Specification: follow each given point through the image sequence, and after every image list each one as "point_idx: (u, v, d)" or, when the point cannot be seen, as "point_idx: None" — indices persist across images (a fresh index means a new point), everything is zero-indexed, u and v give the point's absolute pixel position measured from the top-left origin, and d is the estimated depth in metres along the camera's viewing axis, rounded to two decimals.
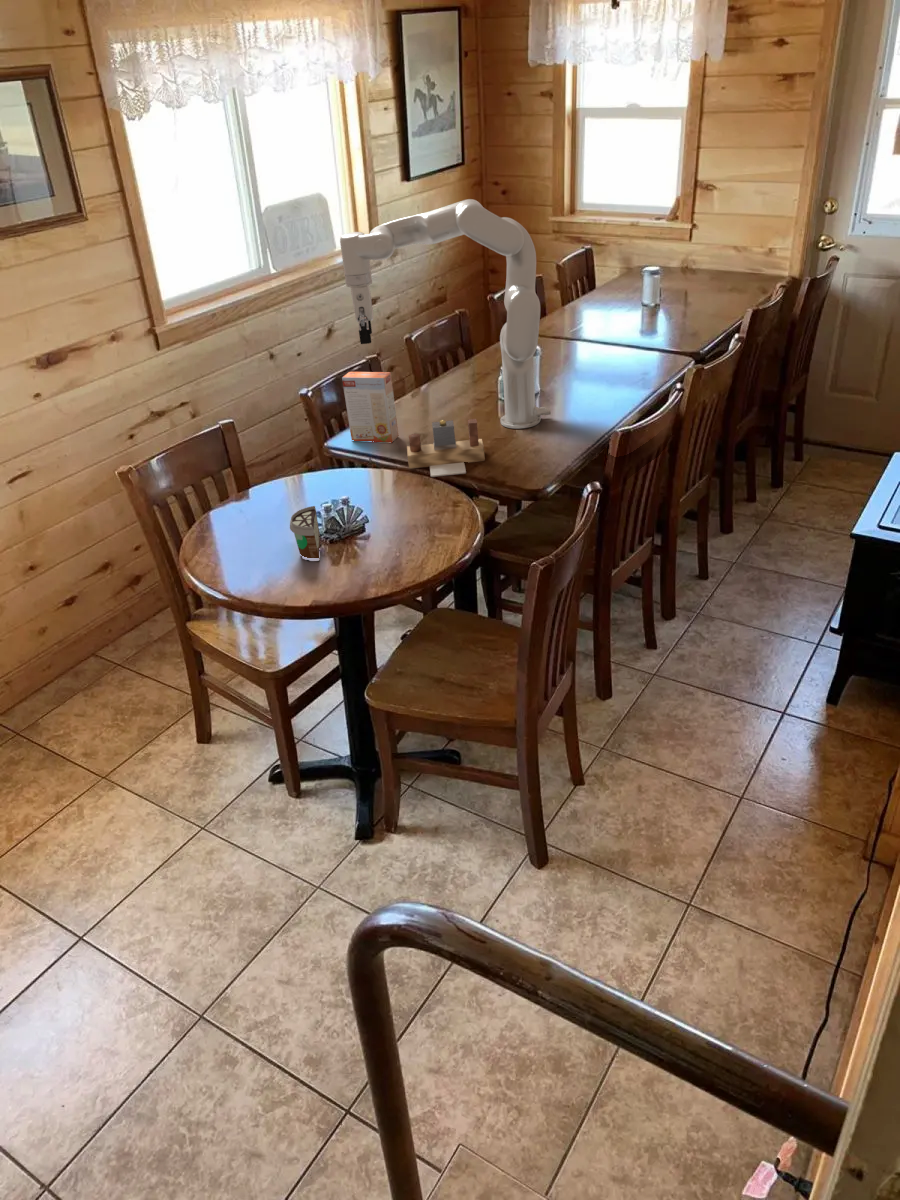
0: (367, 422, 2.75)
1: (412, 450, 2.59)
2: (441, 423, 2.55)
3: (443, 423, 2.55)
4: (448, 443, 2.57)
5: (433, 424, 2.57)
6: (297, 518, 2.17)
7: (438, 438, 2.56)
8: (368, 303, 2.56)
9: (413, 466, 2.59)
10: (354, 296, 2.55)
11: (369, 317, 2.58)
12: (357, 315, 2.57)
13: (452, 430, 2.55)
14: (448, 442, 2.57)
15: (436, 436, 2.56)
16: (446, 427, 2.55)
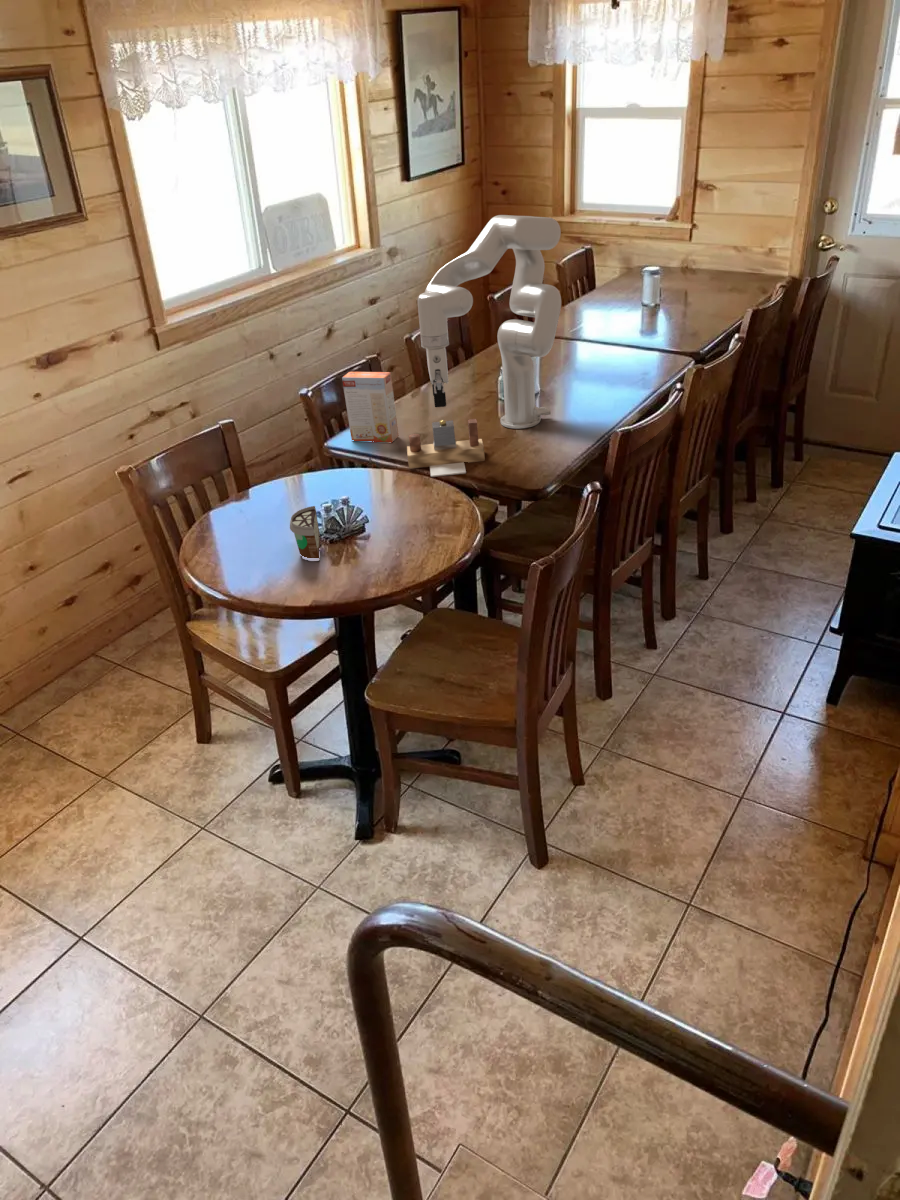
0: (367, 422, 2.75)
1: (412, 450, 2.59)
2: (441, 423, 2.55)
3: (443, 423, 2.55)
4: (448, 443, 2.57)
5: (433, 424, 2.57)
6: (297, 518, 2.17)
7: (438, 438, 2.56)
8: (445, 365, 2.43)
9: (413, 466, 2.59)
10: (430, 358, 2.42)
11: (445, 380, 2.44)
12: (433, 378, 2.44)
13: (452, 430, 2.55)
14: (448, 442, 2.57)
15: (436, 436, 2.56)
16: (446, 427, 2.55)
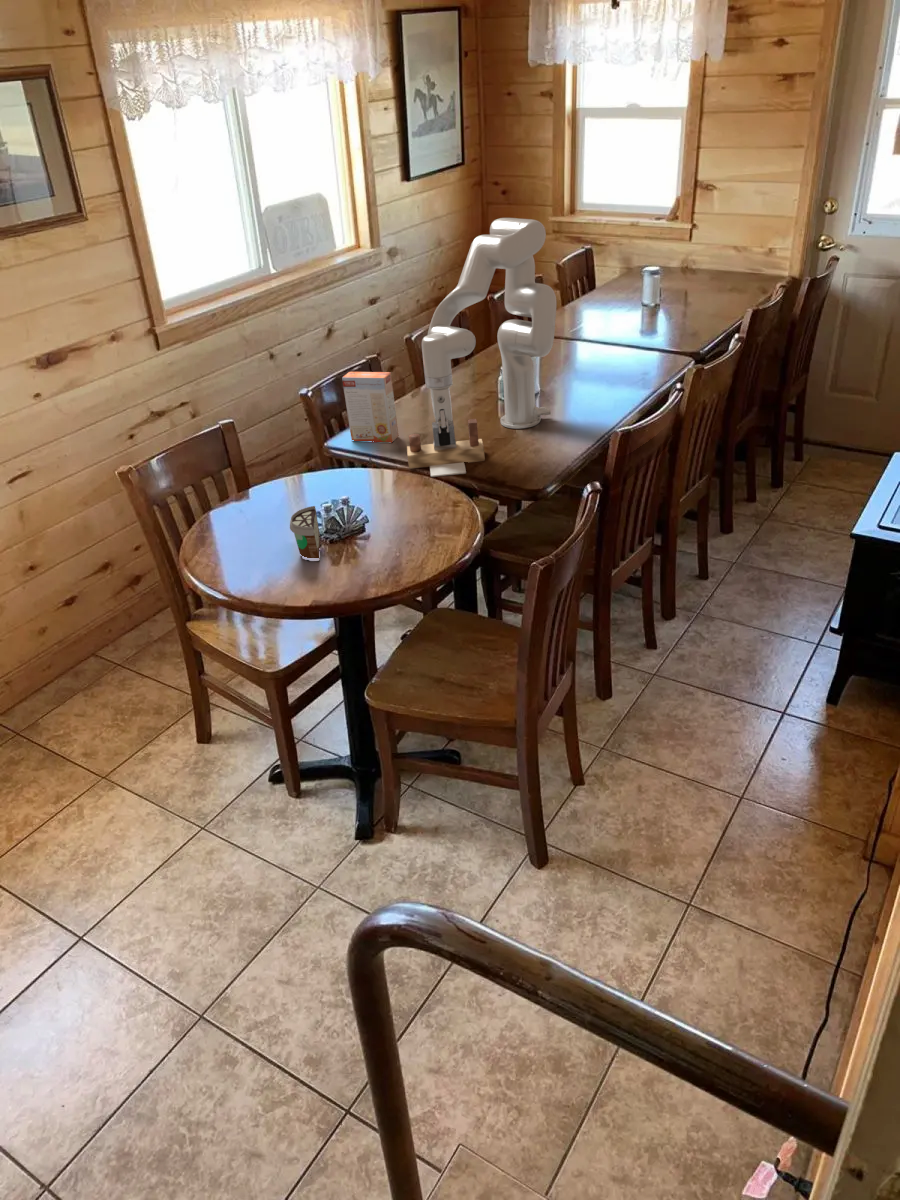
0: (367, 422, 2.75)
1: (412, 450, 2.59)
2: None
3: None
4: None
5: (433, 424, 2.57)
6: (297, 518, 2.17)
7: (438, 438, 2.56)
8: (449, 405, 2.49)
9: (413, 466, 2.59)
10: (435, 398, 2.48)
11: (450, 419, 2.50)
12: (438, 421, 2.51)
13: (452, 430, 2.55)
14: None
15: (436, 436, 2.56)
16: None
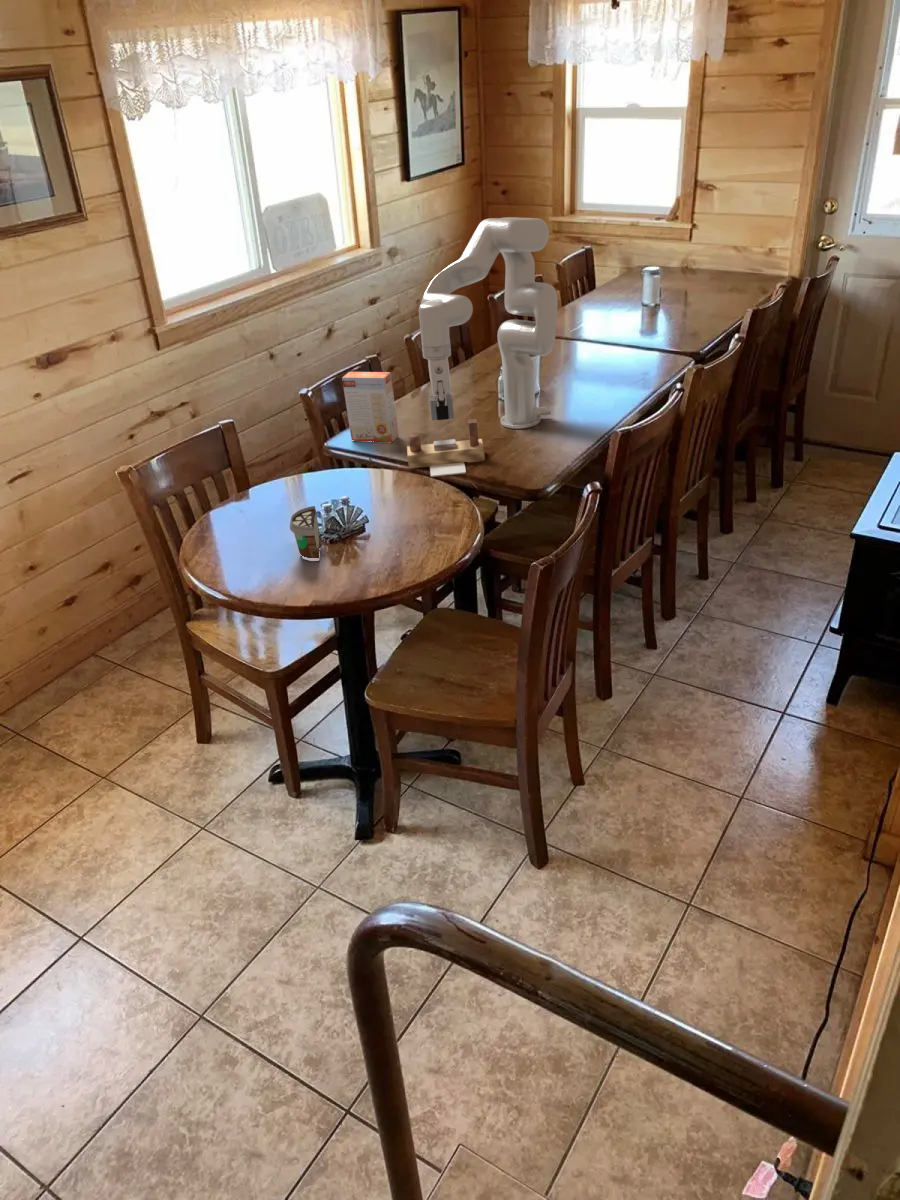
0: (367, 422, 2.75)
1: (412, 450, 2.59)
2: None
3: None
4: None
5: (430, 397, 2.45)
6: (297, 518, 2.17)
7: None
8: (447, 376, 2.37)
9: (413, 466, 2.59)
10: (432, 369, 2.36)
11: (448, 391, 2.38)
12: (435, 393, 2.39)
13: (450, 403, 2.43)
14: None
15: (434, 410, 2.44)
16: None
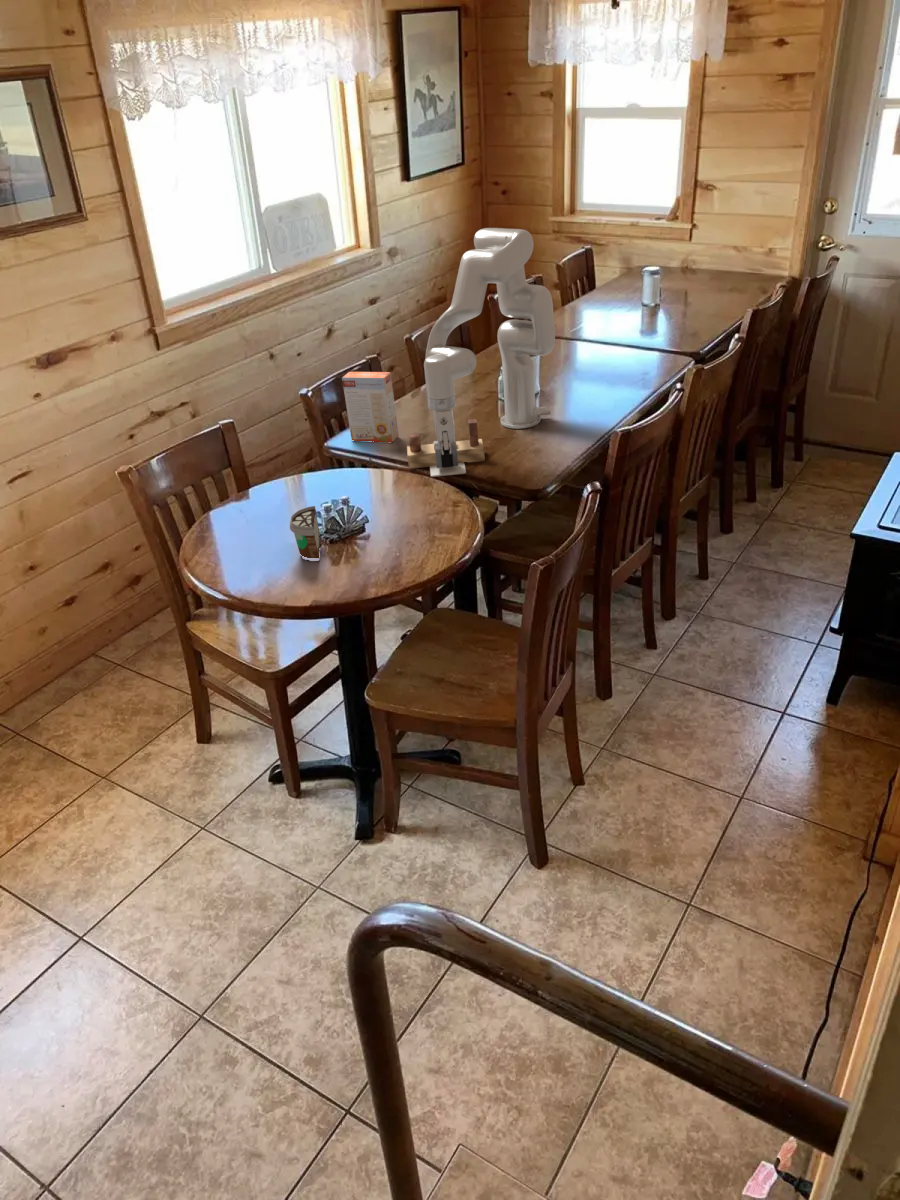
0: (367, 422, 2.75)
1: (412, 450, 2.59)
2: None
3: None
4: None
5: (435, 445, 2.52)
6: (297, 518, 2.17)
7: None
8: (452, 427, 2.44)
9: (413, 466, 2.59)
10: (438, 420, 2.43)
11: (453, 440, 2.46)
12: (440, 442, 2.47)
13: (455, 452, 2.51)
14: None
15: (439, 458, 2.51)
16: None
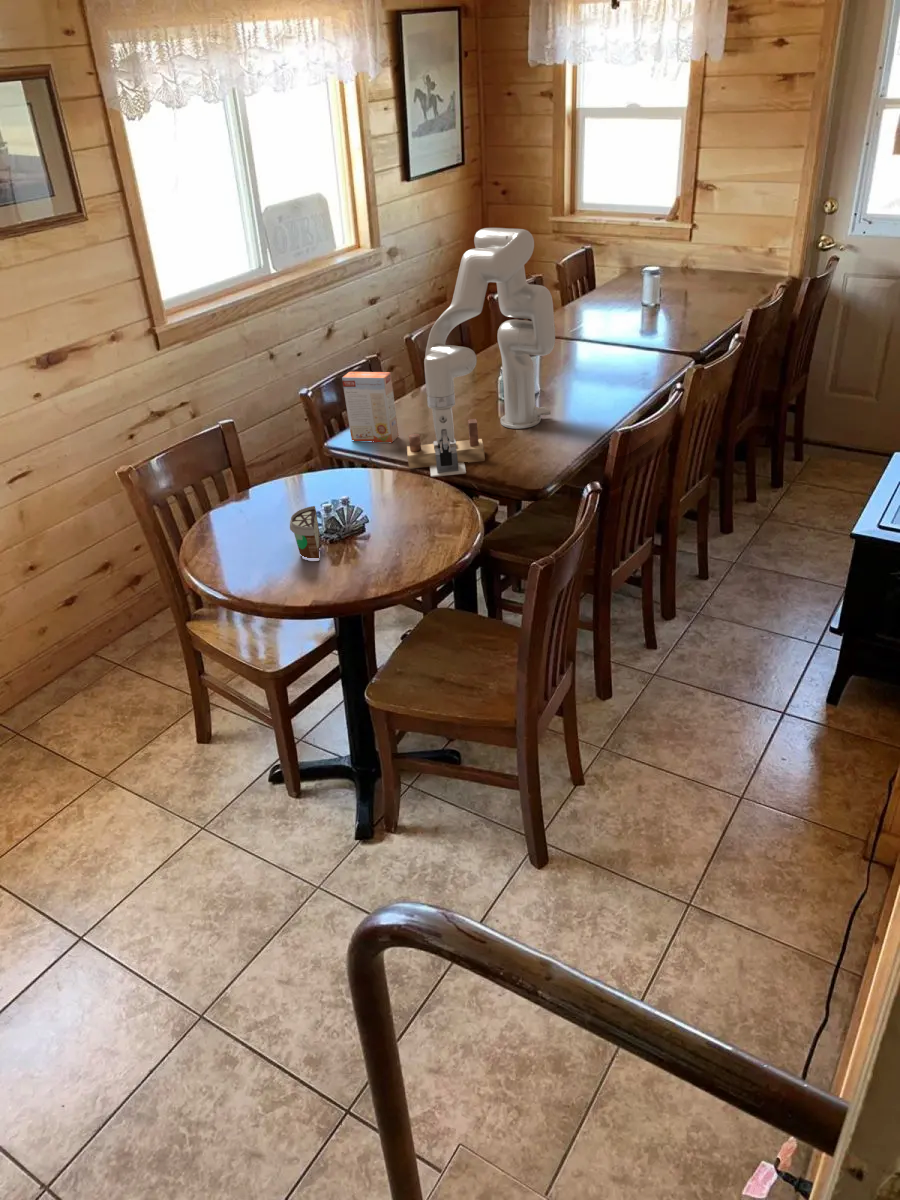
0: (367, 422, 2.75)
1: (412, 450, 2.59)
2: None
3: None
4: (451, 470, 2.54)
5: (436, 451, 2.53)
6: (297, 518, 2.17)
7: None
8: (451, 425, 2.43)
9: (413, 466, 2.59)
10: (437, 418, 2.42)
11: (452, 439, 2.45)
12: (439, 437, 2.44)
13: (455, 457, 2.52)
14: (451, 469, 2.53)
15: (439, 463, 2.52)
16: None
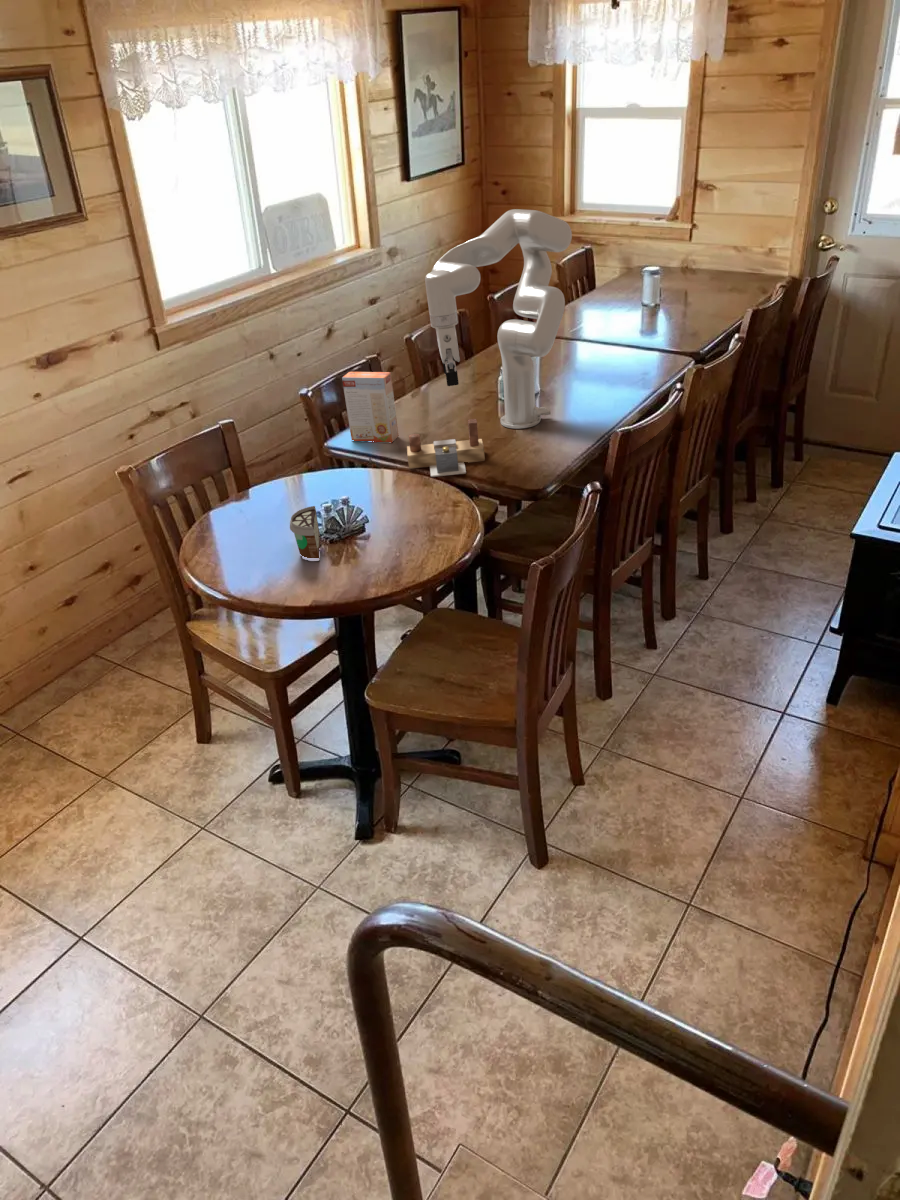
0: (367, 422, 2.75)
1: (412, 450, 2.59)
2: (444, 450, 2.52)
3: (446, 450, 2.52)
4: (451, 470, 2.54)
5: (436, 451, 2.53)
6: (297, 518, 2.17)
7: (441, 464, 2.52)
8: (456, 344, 2.43)
9: (413, 466, 2.59)
10: (441, 338, 2.42)
11: (457, 358, 2.45)
12: (444, 357, 2.44)
13: (455, 457, 2.52)
14: (451, 469, 2.53)
15: (439, 463, 2.52)
16: (449, 454, 2.51)
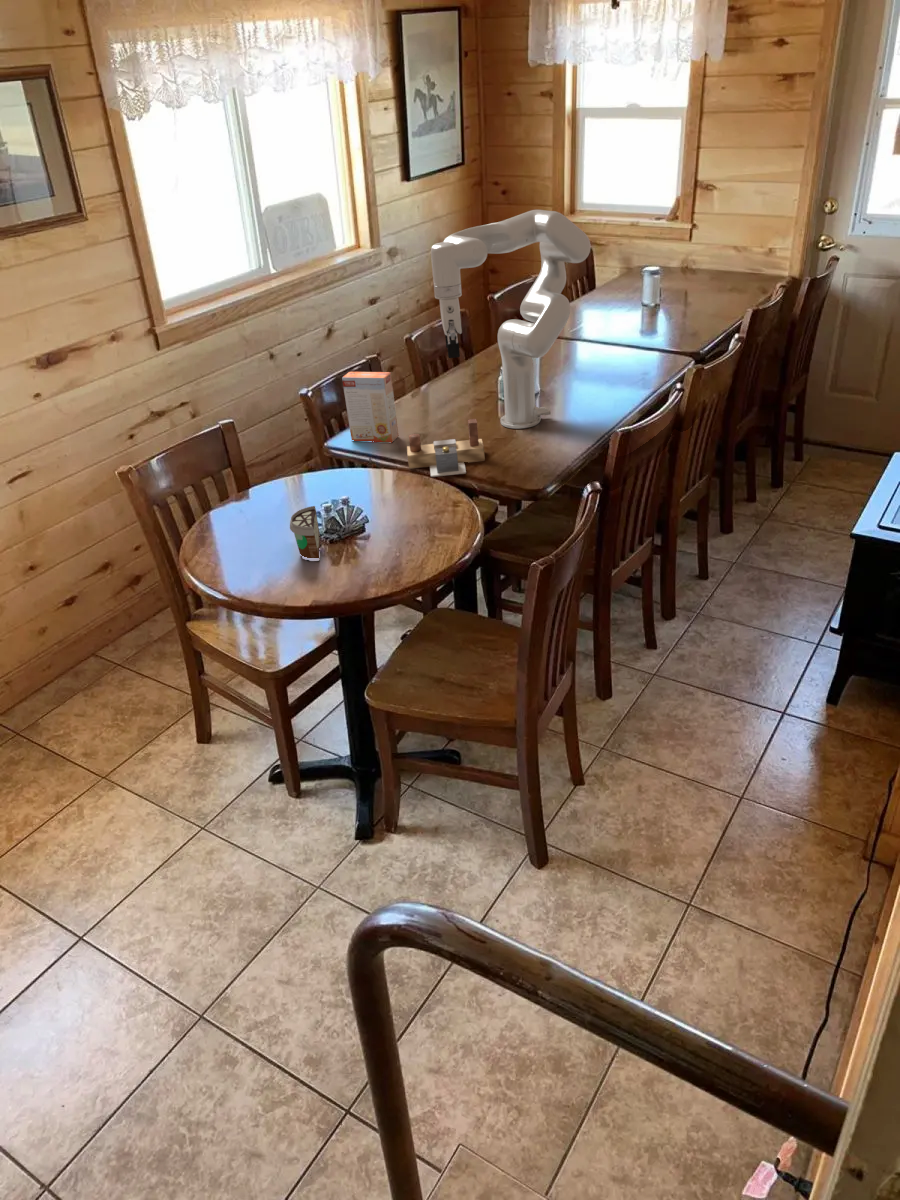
0: (367, 422, 2.75)
1: (412, 450, 2.59)
2: (444, 450, 2.52)
3: (446, 450, 2.52)
4: (451, 470, 2.54)
5: (436, 451, 2.53)
6: (297, 518, 2.17)
7: (441, 464, 2.52)
8: (458, 316, 2.46)
9: (413, 466, 2.59)
10: (444, 308, 2.45)
11: (459, 330, 2.48)
12: (446, 328, 2.47)
13: (455, 457, 2.52)
14: (451, 469, 2.53)
15: (439, 463, 2.52)
16: (449, 454, 2.51)
